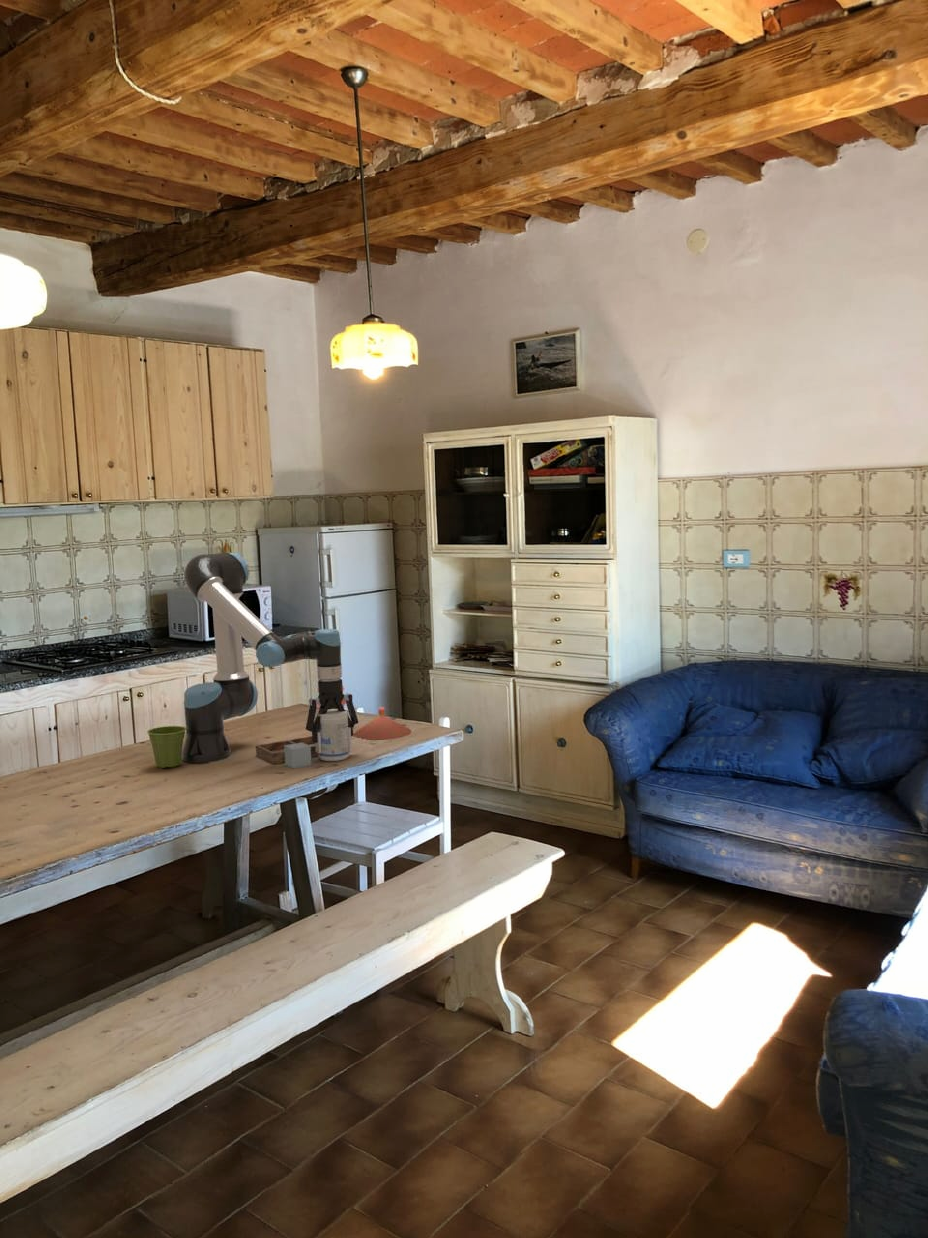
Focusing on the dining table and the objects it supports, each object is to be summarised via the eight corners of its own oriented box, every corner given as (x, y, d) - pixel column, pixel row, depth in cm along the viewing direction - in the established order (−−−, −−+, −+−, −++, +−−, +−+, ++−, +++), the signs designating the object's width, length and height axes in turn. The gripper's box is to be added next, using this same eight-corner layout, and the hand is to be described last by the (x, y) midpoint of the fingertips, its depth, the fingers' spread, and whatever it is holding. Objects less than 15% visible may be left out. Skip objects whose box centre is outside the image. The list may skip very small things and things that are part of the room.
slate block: (293, 768, 302) (292, 749, 302) (285, 764, 307) (284, 745, 307) (311, 765, 305) (310, 745, 305) (303, 761, 310) (302, 742, 310)
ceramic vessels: (423, 728, 350) (421, 675, 348) (396, 742, 331) (394, 686, 329) (335, 723, 363) (332, 672, 361) (305, 736, 344) (302, 682, 342)
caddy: (273, 764, 308) (272, 753, 307) (256, 755, 319) (255, 745, 319) (349, 750, 322) (348, 740, 321) (330, 742, 333) (329, 733, 333)
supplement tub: (312, 760, 311) (309, 713, 309) (330, 753, 319) (327, 707, 317) (338, 763, 306) (335, 716, 305) (355, 755, 315) (353, 709, 313)
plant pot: (177, 770, 304) (175, 734, 303) (141, 770, 306) (139, 734, 305) (195, 760, 316) (193, 725, 314) (161, 760, 318) (158, 725, 317)
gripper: (301, 685, 301) (305, 758, 303) (367, 676, 313) (370, 746, 315) (291, 682, 307) (295, 753, 310) (356, 673, 319) (360, 742, 322)
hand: (333, 749), depth 312 cm, fingers closed on supplement tub, 10 cm apart
